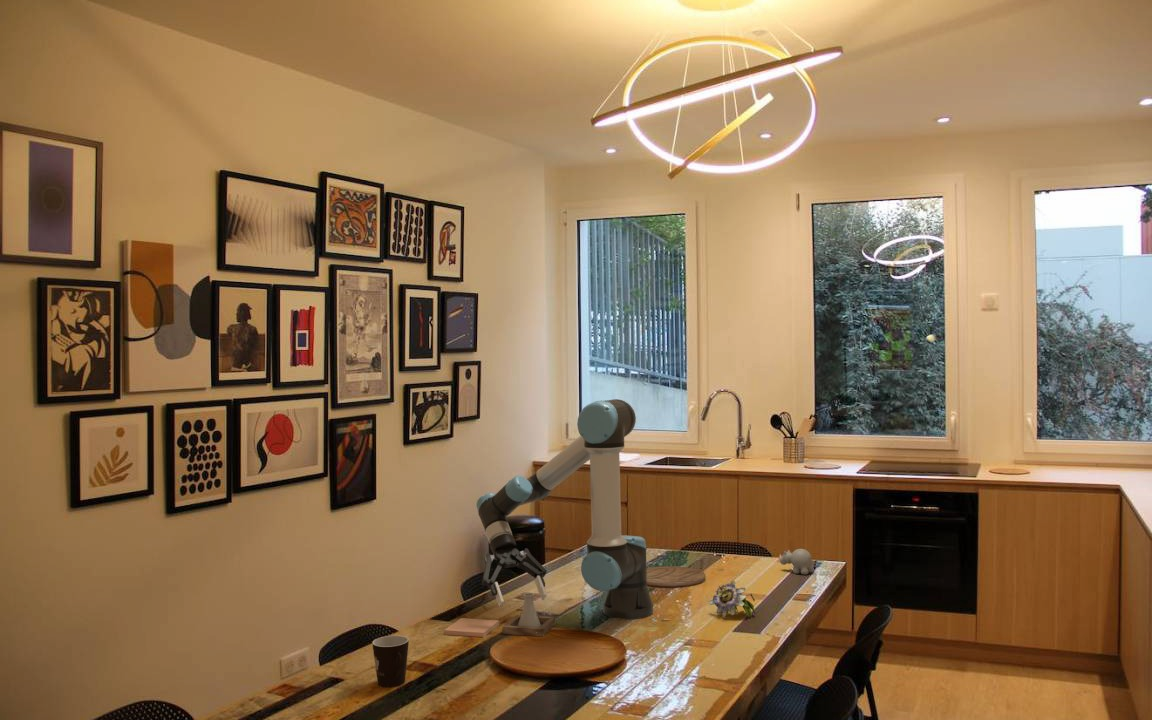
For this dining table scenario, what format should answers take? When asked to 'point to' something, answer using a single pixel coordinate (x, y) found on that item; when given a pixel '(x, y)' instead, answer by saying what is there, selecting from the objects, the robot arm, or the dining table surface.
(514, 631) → the walnut holder
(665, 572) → the trivet
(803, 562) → the chubby cartoon animal
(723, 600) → the passion flower
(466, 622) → the terracotta coaster
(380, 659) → the coffee mug
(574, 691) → the dining table surface
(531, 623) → the flask
